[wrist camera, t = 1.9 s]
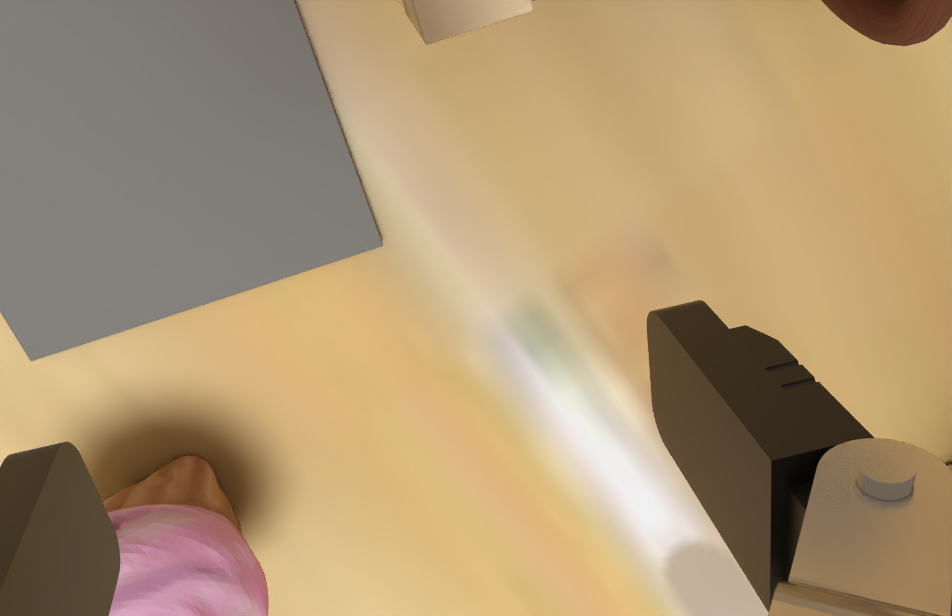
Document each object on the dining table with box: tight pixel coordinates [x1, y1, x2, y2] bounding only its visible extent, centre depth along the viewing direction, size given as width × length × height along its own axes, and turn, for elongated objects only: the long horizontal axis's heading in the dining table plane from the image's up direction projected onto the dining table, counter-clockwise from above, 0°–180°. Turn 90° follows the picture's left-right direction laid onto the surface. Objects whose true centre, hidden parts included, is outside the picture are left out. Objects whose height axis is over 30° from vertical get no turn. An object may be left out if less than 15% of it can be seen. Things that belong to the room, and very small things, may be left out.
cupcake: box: [103, 455, 268, 616], centre depth 36 cm, size 9×9×10 cm
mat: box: [0, 0, 383, 361], centre depth 32 cm, size 15×18×1 cm
